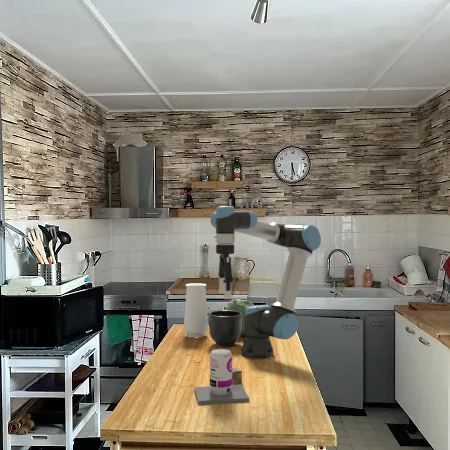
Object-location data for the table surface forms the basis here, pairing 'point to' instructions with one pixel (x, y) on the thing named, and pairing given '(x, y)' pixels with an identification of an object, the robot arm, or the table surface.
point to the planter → (225, 327)
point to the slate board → (208, 398)
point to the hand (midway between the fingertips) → (225, 296)
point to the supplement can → (220, 372)
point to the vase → (195, 310)
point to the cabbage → (239, 309)
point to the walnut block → (236, 376)
